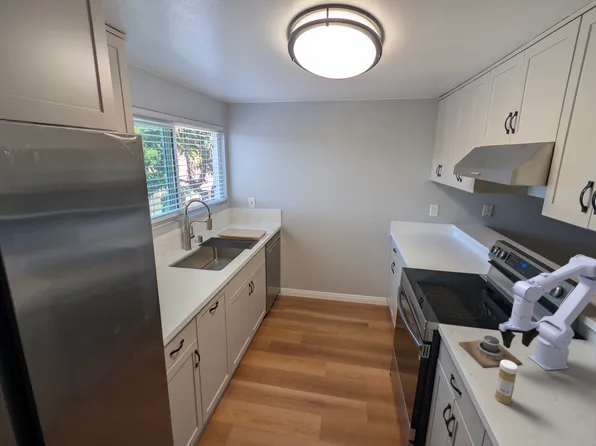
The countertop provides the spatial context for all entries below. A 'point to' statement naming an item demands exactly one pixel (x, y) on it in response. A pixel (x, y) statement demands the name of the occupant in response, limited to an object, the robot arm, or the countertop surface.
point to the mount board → (484, 360)
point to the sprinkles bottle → (506, 381)
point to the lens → (490, 344)
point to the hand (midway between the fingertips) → (515, 346)
